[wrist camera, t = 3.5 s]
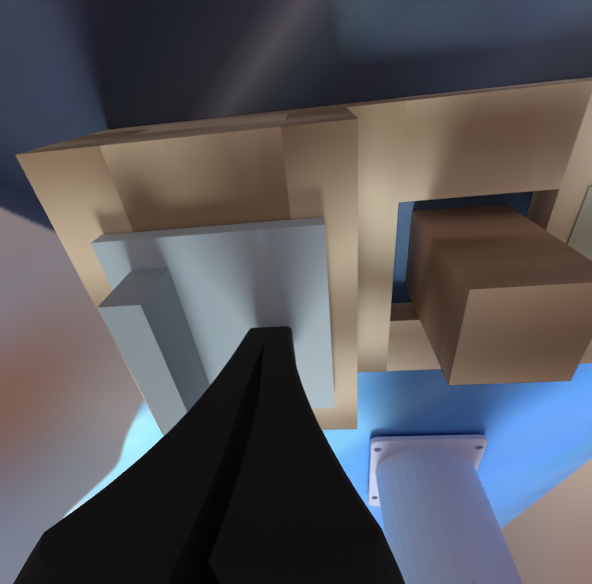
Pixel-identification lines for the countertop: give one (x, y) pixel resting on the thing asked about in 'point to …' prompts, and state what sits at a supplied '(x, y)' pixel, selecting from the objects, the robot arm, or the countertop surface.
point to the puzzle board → (453, 170)
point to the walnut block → (498, 295)
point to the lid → (215, 304)
